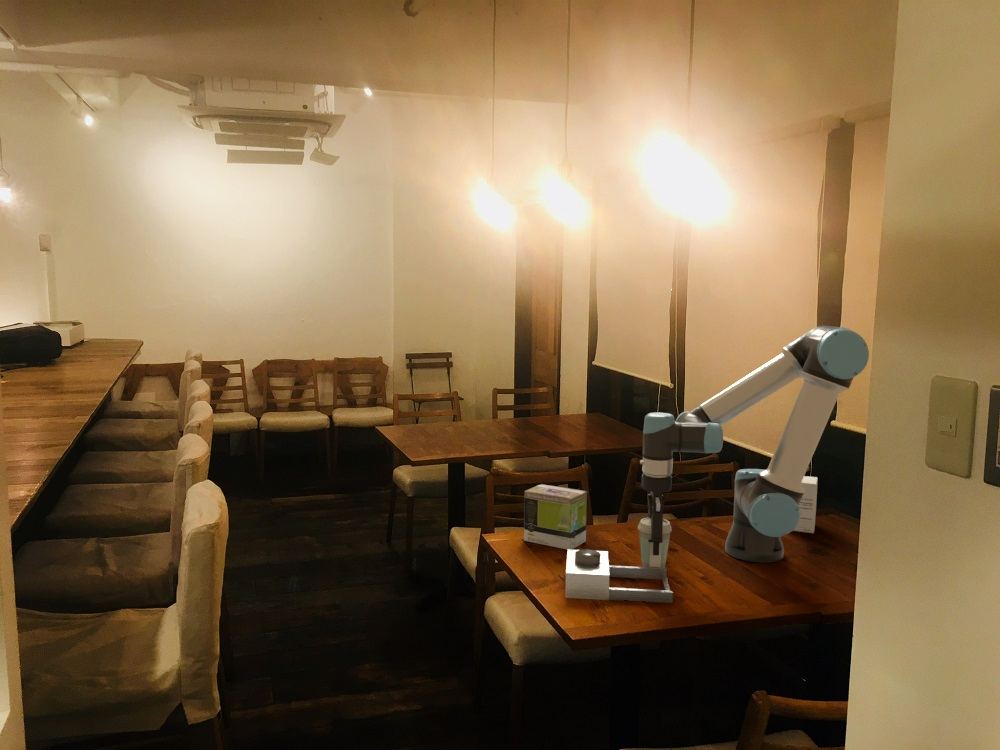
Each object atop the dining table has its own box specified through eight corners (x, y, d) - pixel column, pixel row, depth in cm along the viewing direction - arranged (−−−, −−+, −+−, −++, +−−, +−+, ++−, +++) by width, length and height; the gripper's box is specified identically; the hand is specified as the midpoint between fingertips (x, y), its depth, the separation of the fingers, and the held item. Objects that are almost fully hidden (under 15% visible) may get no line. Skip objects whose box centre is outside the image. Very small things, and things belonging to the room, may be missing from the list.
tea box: (586, 541, 226) (588, 490, 224) (570, 551, 217) (571, 498, 215) (540, 531, 234) (541, 482, 232) (522, 541, 225) (523, 490, 223)
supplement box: (783, 521, 246) (786, 473, 245) (815, 525, 243) (818, 476, 241) (781, 529, 238) (784, 480, 236) (814, 533, 235) (817, 484, 233)
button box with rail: (665, 577, 200) (667, 546, 199) (672, 603, 184) (673, 570, 183) (567, 572, 202) (567, 541, 201) (565, 597, 187) (566, 564, 186)
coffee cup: (670, 574, 202) (672, 528, 200) (635, 571, 204) (637, 525, 202) (670, 562, 210) (672, 517, 209) (637, 559, 212) (638, 515, 210)
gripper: (639, 463, 214) (636, 546, 217) (644, 483, 194) (641, 574, 197) (667, 464, 214) (664, 547, 217) (676, 485, 193) (672, 576, 196)
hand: (653, 560), depth 207 cm, fingers open, 8 cm apart
